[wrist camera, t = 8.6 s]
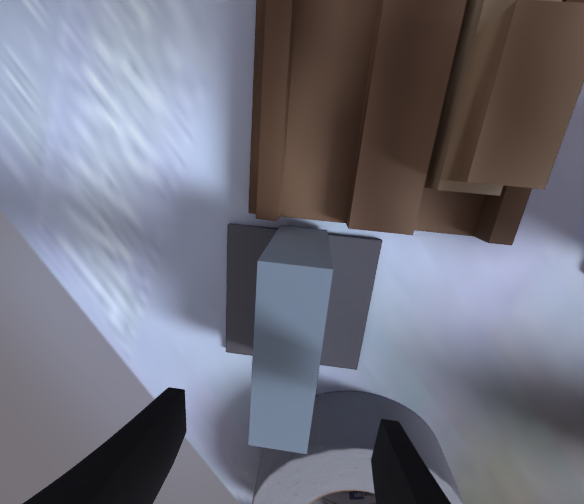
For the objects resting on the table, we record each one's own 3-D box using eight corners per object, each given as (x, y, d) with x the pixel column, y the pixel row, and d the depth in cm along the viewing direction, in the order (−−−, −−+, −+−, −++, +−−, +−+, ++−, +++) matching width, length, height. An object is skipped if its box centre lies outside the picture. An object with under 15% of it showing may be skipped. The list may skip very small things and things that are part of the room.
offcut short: (549, 38, 11) (611, 4, 9) (503, 185, 13) (544, 189, 11) (476, 34, 11) (517, -1, 9) (440, 179, 13) (467, 182, 11)
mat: (380, 239, 17) (382, 240, 17) (356, 365, 20) (356, 369, 20) (229, 223, 18) (227, 224, 18) (227, 348, 21) (225, 352, 21)
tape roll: (245, 396, 23) (226, 458, 18) (436, 380, 21) (473, 446, 16) (281, 518, 27) (274, 595, 22) (443, 516, 25) (474, 600, 20)
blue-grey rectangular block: (327, 230, 17) (333, 269, 11) (310, 359, 20) (306, 454, 14) (280, 225, 17) (257, 260, 11) (270, 354, 20) (248, 445, 14)
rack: (582, -58, 12) (644, -110, 10) (489, 234, 17) (517, 245, 14) (263, -70, 13) (252, -122, 11) (252, 210, 18) (242, 217, 15)
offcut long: (534, -6, 12) (574, -38, 11) (477, 192, 15) (500, 195, 13) (467, -10, 13) (494, -41, 11) (422, 187, 15) (437, 190, 13)
